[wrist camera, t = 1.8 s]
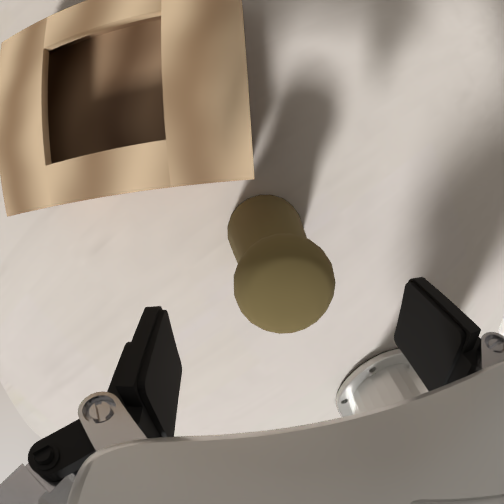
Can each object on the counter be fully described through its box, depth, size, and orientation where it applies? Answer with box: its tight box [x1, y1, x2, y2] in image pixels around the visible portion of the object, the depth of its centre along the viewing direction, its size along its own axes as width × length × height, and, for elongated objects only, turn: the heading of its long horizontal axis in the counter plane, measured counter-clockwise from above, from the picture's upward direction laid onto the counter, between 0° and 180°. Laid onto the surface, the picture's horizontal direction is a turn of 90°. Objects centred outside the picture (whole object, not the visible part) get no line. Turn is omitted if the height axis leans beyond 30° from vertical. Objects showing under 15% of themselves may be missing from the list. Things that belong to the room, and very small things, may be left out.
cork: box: [228, 195, 335, 334], centre depth 19 cm, size 6×6×11 cm
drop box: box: [0, 0, 254, 217], centre depth 16 cm, size 18×14×6 cm
